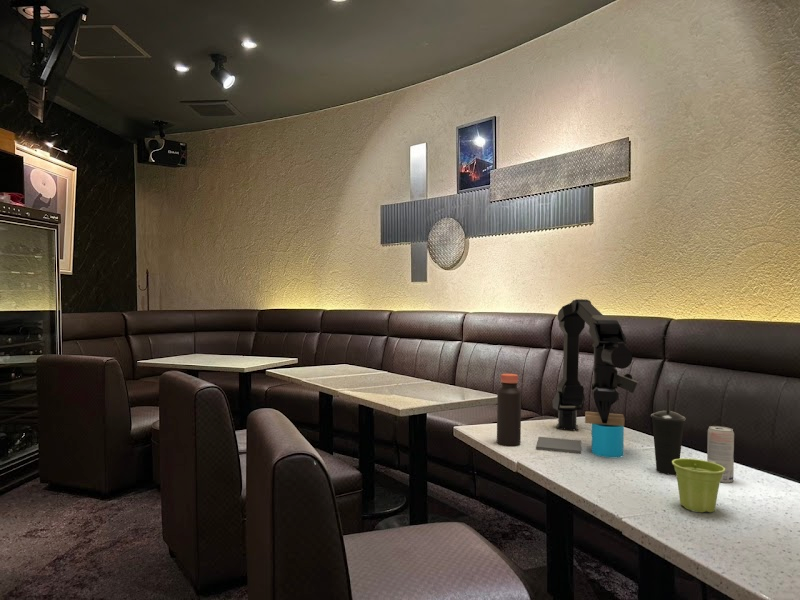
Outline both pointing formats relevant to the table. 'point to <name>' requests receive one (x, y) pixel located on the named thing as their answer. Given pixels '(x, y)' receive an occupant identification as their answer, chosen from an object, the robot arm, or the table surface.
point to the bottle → (509, 411)
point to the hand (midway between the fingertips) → (603, 420)
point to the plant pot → (698, 483)
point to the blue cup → (607, 440)
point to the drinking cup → (667, 438)
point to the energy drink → (721, 450)
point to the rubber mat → (559, 445)
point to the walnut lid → (612, 420)
